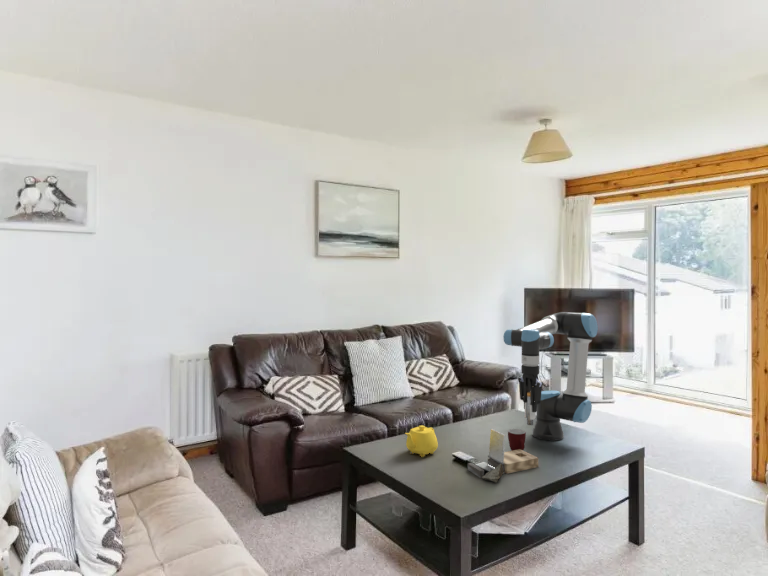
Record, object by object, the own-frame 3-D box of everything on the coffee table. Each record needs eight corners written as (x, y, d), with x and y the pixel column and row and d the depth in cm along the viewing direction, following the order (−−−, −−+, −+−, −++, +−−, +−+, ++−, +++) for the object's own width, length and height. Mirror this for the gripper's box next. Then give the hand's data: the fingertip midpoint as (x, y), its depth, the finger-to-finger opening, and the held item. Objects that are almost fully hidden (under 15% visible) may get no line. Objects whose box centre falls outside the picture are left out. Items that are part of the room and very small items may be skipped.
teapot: (444, 452, 236) (444, 425, 236) (416, 463, 222) (416, 434, 222) (423, 444, 246) (423, 419, 246) (394, 455, 232) (394, 428, 232)
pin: (530, 423, 221) (530, 391, 220) (534, 424, 218) (534, 392, 218) (525, 424, 220) (525, 392, 219) (529, 425, 217) (530, 393, 217)
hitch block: (519, 457, 228) (519, 449, 228) (538, 466, 217) (538, 457, 217) (465, 468, 215) (465, 459, 215) (482, 478, 205) (482, 469, 204)
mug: (532, 456, 230) (532, 434, 230) (517, 458, 227) (517, 436, 227) (518, 448, 240) (518, 428, 239) (504, 450, 237) (504, 429, 237)
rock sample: (480, 464, 210) (494, 454, 206) (493, 475, 211) (508, 466, 206) (476, 483, 202) (491, 474, 197) (491, 494, 202) (505, 485, 197)
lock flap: (489, 457, 219) (491, 428, 220) (504, 465, 210) (506, 435, 211) (487, 457, 219) (489, 428, 219) (502, 465, 210) (504, 435, 210)
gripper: (511, 362, 224) (511, 414, 224) (536, 368, 210) (536, 424, 210) (524, 361, 227) (524, 412, 228) (550, 366, 213) (549, 421, 214)
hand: (530, 418), depth 219 cm, fingers closed on pin, 2 cm apart
